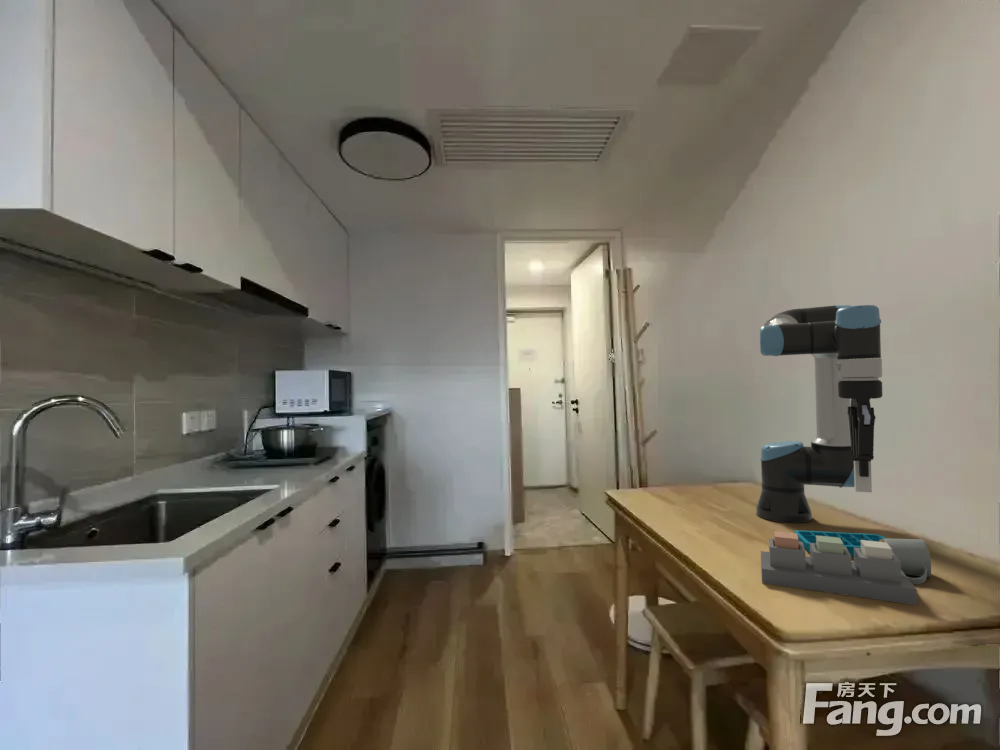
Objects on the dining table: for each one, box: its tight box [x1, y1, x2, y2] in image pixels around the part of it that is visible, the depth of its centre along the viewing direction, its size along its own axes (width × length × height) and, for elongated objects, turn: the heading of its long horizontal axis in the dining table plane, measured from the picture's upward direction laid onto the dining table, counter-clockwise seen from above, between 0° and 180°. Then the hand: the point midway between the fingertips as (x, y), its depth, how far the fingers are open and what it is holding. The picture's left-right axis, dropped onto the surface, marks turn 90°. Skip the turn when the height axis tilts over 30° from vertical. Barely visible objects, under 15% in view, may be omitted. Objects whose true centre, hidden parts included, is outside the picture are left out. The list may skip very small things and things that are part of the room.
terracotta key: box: [773, 531, 799, 549], centre depth 108 cm, size 4×4×4 cm
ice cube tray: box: [793, 529, 888, 558], centre depth 124 cm, size 12×20×3 cm, turn 75°
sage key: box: [816, 535, 844, 554], centre depth 105 cm, size 4×4×4 cm
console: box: [760, 537, 918, 606], centre depth 105 cm, size 12×26×7 cm, turn 63°
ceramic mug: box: [879, 538, 932, 585], centre depth 107 cm, size 11×8×8 cm
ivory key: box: [861, 540, 892, 560], centre depth 101 cm, size 4×4×4 cm
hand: (863, 491), depth 104 cm, fingers closed
